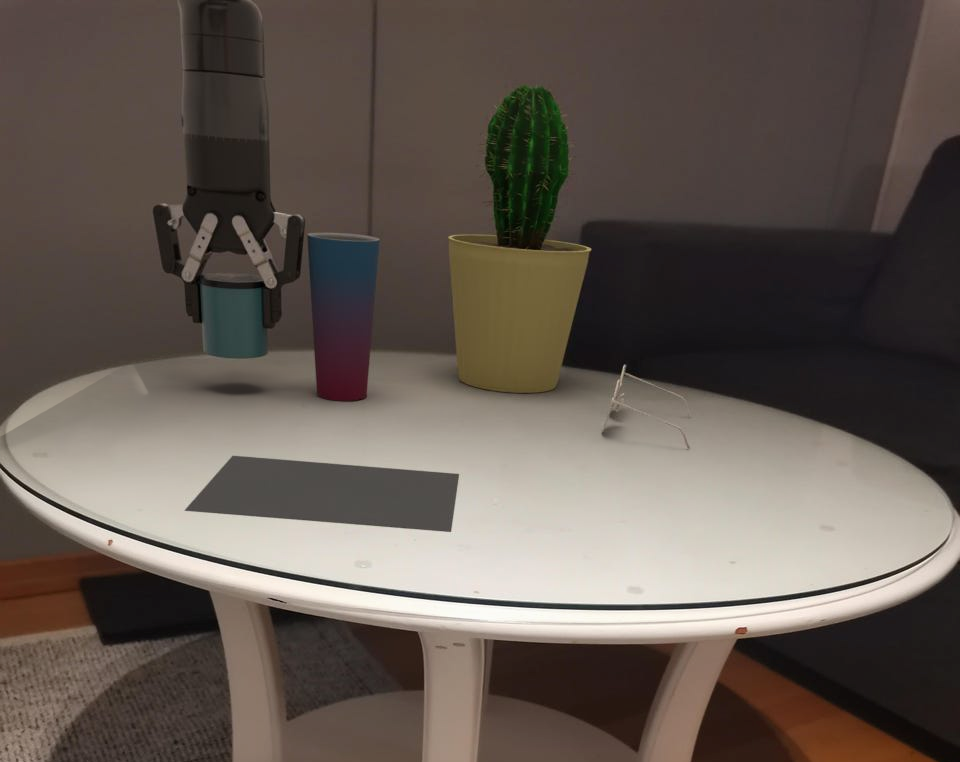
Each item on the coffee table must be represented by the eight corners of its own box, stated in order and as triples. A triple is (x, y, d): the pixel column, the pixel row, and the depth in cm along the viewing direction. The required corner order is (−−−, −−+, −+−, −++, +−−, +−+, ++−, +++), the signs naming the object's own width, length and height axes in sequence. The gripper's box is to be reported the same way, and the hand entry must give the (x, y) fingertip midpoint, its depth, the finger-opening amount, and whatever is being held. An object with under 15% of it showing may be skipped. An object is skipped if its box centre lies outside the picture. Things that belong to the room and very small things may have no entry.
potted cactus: (583, 376, 116) (618, 89, 103) (564, 404, 103) (601, 78, 89) (458, 361, 119) (477, 79, 105) (424, 386, 105) (439, 66, 92)
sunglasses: (611, 406, 104) (625, 360, 101) (687, 429, 103) (703, 382, 101) (598, 439, 91) (614, 387, 89) (685, 464, 91) (703, 413, 88)
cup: (318, 404, 95) (318, 239, 88) (300, 387, 100) (299, 231, 94) (384, 402, 98) (389, 242, 91) (363, 386, 103) (366, 234, 96)
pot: (195, 355, 94) (190, 279, 90) (225, 335, 104) (222, 265, 101) (260, 360, 94) (258, 284, 90) (284, 339, 104) (283, 270, 101)
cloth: (184, 515, 66) (184, 510, 65) (232, 460, 77) (232, 455, 77) (450, 536, 66) (451, 531, 66) (458, 478, 77) (459, 473, 77)
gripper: (313, 139, 91) (314, 324, 99) (159, 126, 91) (172, 313, 98) (298, 139, 84) (300, 337, 92) (132, 125, 84) (148, 325, 92)
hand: (234, 324), depth 95 cm, fingers closed on pot, 6 cm apart
